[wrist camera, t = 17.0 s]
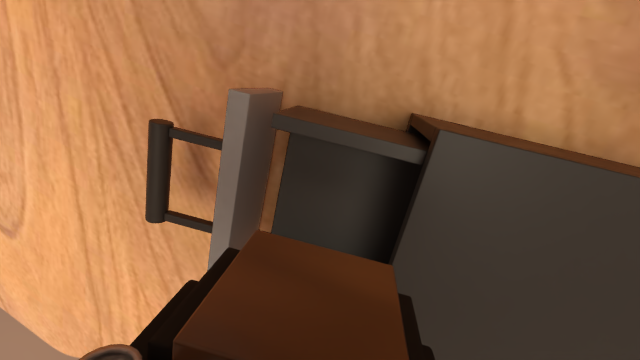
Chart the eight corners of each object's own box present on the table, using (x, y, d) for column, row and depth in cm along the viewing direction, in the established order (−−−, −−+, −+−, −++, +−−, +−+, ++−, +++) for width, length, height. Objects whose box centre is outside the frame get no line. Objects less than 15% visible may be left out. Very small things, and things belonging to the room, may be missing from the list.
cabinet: (360, 275, 27) (358, 357, 19) (411, 112, 22) (439, 129, 14) (548, 327, 26) (633, 438, 18) (644, 168, 21) (819, 220, 13)
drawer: (182, 226, 27) (124, 270, 20) (194, 70, 22) (127, 63, 16) (416, 291, 26) (434, 360, 19) (477, 138, 21) (527, 161, 15)
